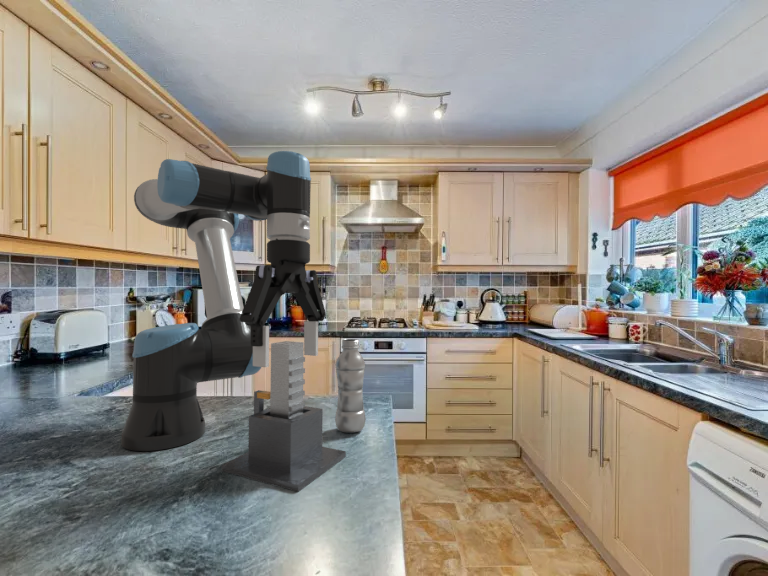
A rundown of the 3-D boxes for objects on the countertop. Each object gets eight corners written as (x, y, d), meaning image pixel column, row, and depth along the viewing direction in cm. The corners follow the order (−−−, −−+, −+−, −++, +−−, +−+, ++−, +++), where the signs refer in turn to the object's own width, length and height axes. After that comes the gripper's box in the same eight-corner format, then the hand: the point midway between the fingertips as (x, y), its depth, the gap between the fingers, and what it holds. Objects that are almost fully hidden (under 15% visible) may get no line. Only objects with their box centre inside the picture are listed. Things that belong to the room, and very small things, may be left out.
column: (268, 458, 66) (269, 343, 67) (284, 449, 70) (285, 341, 71) (289, 463, 64) (291, 345, 65) (305, 454, 68) (306, 342, 69)
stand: (221, 470, 64) (222, 399, 65) (277, 442, 77) (278, 382, 77) (298, 491, 58) (298, 412, 58) (345, 456, 70) (346, 391, 71)
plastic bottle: (361, 437, 80) (361, 342, 80) (330, 435, 81) (331, 341, 82) (368, 427, 86) (369, 338, 87) (340, 425, 88) (340, 338, 88)
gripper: (253, 227, 55) (252, 374, 55) (343, 248, 78) (342, 352, 77) (216, 231, 58) (215, 370, 58) (312, 250, 81) (312, 350, 80)
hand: (288, 360), depth 68 cm, fingers open, 13 cm apart
